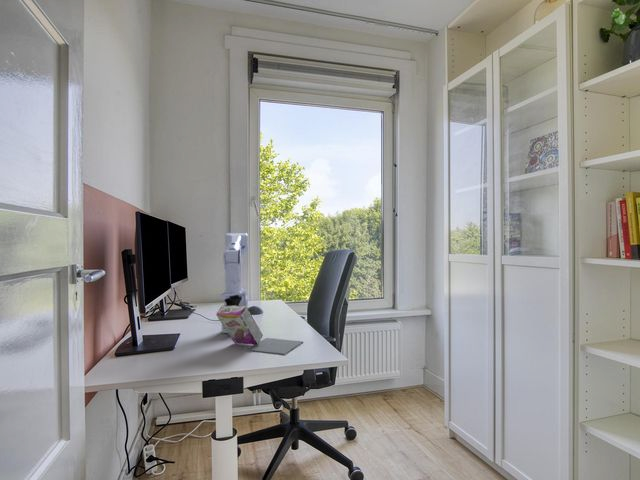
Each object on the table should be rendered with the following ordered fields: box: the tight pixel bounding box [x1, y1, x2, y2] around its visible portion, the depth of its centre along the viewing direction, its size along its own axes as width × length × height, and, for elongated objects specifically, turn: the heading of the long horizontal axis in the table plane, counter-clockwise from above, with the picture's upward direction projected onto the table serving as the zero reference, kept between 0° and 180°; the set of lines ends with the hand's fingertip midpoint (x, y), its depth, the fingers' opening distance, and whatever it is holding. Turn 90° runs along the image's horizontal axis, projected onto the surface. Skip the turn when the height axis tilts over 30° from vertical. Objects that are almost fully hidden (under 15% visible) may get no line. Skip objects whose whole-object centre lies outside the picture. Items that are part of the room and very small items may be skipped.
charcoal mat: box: [244, 337, 304, 356], centre depth 140 cm, size 16×16×1 cm
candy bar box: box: [215, 304, 263, 346], centre depth 139 cm, size 11×5×16 cm
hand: (233, 315), depth 146 cm, fingers closed
